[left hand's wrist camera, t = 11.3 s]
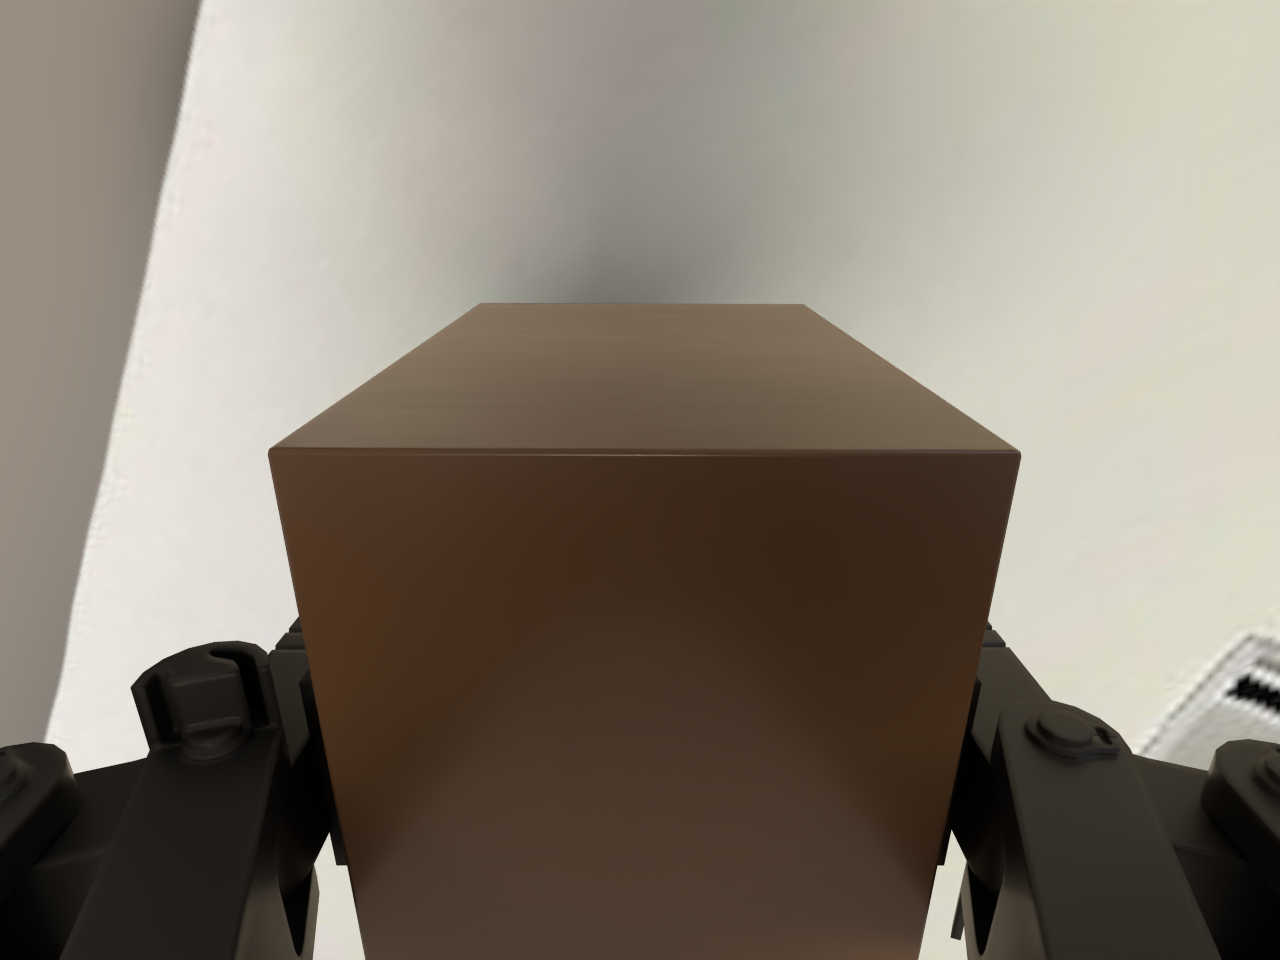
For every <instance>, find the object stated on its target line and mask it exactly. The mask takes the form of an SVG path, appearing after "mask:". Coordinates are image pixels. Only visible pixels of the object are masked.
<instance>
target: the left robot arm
mask: <svg viewBox="0 0 1280 960" xmlns="http://www.w3.org/2000/svg"><path fill="white" fill-rule="evenodd" d="M1005 644H1006V643H1005V642H1004V641H1003V639H1002V638H1001V637H1000V636H999V634H998V633H997V632H996V631H995V630H992V626H991V624H990V623H989V622H988V621H987V626H986V631H985V636H984V641H983V646H982V650H981V655H980V660H979V665H978V670H977V675H976V680H975V685H974V689H973V694H972V699H971V704H970V709H969V714H968V719H967V724H966V729H965V733H964V738H963V743H962V748H961V753H960V758H959V763H958V768H957V772H956V777H955V782H954V787H953V792H952V797H951V802H950V807H949V811H948V816H947V821H946V826H945V831H944V836H943V841H942V846H941V850H940V855H939V860H938V865H944V863H945V858H946V853H947V849H948V844H949V839H950V834H951V829H952V831H953V833H954V835H955V837H956V839H957V842H958V844H959V846H960V848H961V850H962V852H963V854H964V856H965V858H966V860H967V862H966V866H965V871H964V875H963V880H962V884H961V889H960V893H959V898H958V902H957V907H956V911H955V916H954V920H953V926H952V932H951V938H954V939H958V940H961V936H962V932H963V927H964V929H965V939H966V948H967V958H968V960H1280V744H1276V743H1270V742H1264V741H1257V740H1251V739H1245V740H1236V741H1228V742H1226V743H1225V744H1223V745H1222V746H1221V747H1219V748H1218V749H1216V751H1215V754H1214V757H1213V760H1212V762H1211V765H1210V768H1209V771H1205V770H1201V769H1196V768H1191V767H1187V766H1182V765H1177V764H1173V763H1168V762H1163V761H1158V760H1154V759H1149V758H1145V757H1142V756H1138V755H1134V754H1132V752H1131V749H1130V748H1129V747H1128V745H1127V744H1126V742H1125V741H1124V740H1123V738H1122V737H1121V736H1120V734H1119V733H1118V732H1117V731H1115V730H1114V729H1113V728H1111V727H1110V726H1109V725H1108V724H1106V723H1105V722H1104V721H1102V720H1101V719H1100V718H1098V717H1096V716H1094V715H1092V714H1090V713H1088V712H1085V711H1083V710H1081V709H1079V708H1077V707H1075V706H1071V705H1067V704H1064V703H1060V702H1057V701H1053V700H1051V699H1050V698H1049V696H1048V695H1047V694H1046V693H1045V691H1044V690H1043V689H1042V688H1041V686H1040V685H1039V684H1038V683H1037V681H1036V680H1035V679H1034V678H1033V676H1032V675H1031V674H1030V673H1029V672H1028V670H1027V669H1026V668H1025V667H1024V665H1023V664H1022V663H1021V662H1020V660H1019V659H1018V658H1017V657H1016V655H1015V654H1014V653H1013V652H1012V650H1011V649H1010V648H1009V647H1006V645H1005ZM130 688H131V691H132V694H133V697H134V701H135V704H136V707H137V710H138V714H139V717H140V720H141V723H142V726H143V730H144V733H145V736H146V739H147V743H148V746H149V749H150V751H149V753H148V755H147V758H143V759H139V760H136V761H132V762H127V763H123V764H118V765H113V766H109V767H104V768H99V769H94V770H90V771H85V772H80V773H76V774H73V771H72V769H71V766H70V763H69V760H68V758H67V755H66V753H65V752H64V751H63V750H61V749H60V748H58V747H57V746H56V745H54V744H46V743H36V742H32V743H25V744H19V745H12V746H6V747H3V748H0V960H313V950H314V941H315V931H316V921H317V912H318V902H319V887H318V881H317V875H316V871H315V866H314V863H315V861H316V859H317V857H318V855H319V852H320V850H321V848H322V846H323V844H324V842H325V840H326V838H327V836H328V834H329V832H330V836H331V841H332V846H333V851H334V856H335V861H336V865H347V861H346V856H345V851H344V846H343V841H342V835H341V830H340V825H339V820H338V815H337V810H336V804H335V799H334V794H333V789H332V784H331V779H330V773H329V768H328V763H327V758H326V753H325V747H324V742H323V737H322V732H321V727H320V722H319V716H318V711H317V706H316V701H315V696H314V691H313V685H312V680H311V675H310V670H309V665H308V659H307V654H306V649H305V644H304V639H303V634H302V628H301V623H300V618H299V617H298V618H297V619H296V621H295V622H294V623H293V624H292V626H291V627H290V628H289V633H285V634H284V636H283V637H282V638H281V639H280V641H279V642H278V643H277V644H276V648H275V650H272V651H271V652H270V653H269V654H268V655H267V652H266V651H264V650H263V649H262V648H260V647H259V646H258V645H256V644H252V643H247V642H242V641H224V642H213V643H209V644H204V645H200V646H196V647H192V648H188V649H186V650H183V651H181V652H179V653H176V654H174V655H172V656H169V657H167V658H165V659H163V660H161V661H160V662H158V663H157V664H155V665H154V666H152V667H151V668H149V669H148V670H146V671H145V672H143V673H142V674H141V676H140V677H139V678H138V679H137V680H136V681H135V683H134V684H133V685H132V686H131V687H130Z"/></svg>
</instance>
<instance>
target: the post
mask: <svg viewBox="0 0 1280 960" xmlns="http://www.w3.org/2000/svg"><path fill="white" fill-rule="evenodd" d="M268 458H269V463H270V468H271V473H272V478H273V483H274V489H275V494H276V499H277V504H278V509H279V515H280V520H281V525H282V530H283V535H284V540H285V546H286V551H287V556H288V561H289V566H290V571H291V577H292V582H293V587H294V592H295V597H296V603H297V608H298V613H299V618H300V623H301V628H302V634H303V639H304V644H305V649H306V654H307V659H308V665H309V670H310V675H311V680H312V685H313V691H314V696H315V701H316V706H317V711H318V716H319V722H320V727H321V732H322V737H323V742H324V747H325V753H326V758H327V763H328V768H329V773H330V779H331V784H332V789H333V794H334V799H335V804H336V810H337V815H338V820H339V825H340V830H341V835H342V841H343V846H344V851H345V856H346V861H347V866H348V872H349V877H350V882H351V887H352V892H353V898H354V903H355V908H356V913H357V918H358V923H359V929H360V934H361V939H362V944H363V949H364V954H365V960H918V958H919V953H920V948H921V943H922V938H923V933H924V928H925V924H926V919H927V914H928V909H929V904H930V899H931V894H932V889H933V885H934V880H935V875H936V870H937V865H938V860H939V855H940V850H941V846H942V841H943V836H944V831H945V826H946V821H947V816H948V811H949V807H950V802H951V797H952V792H953V787H954V782H955V777H956V772H957V768H958V763H959V758H960V753H961V748H962V743H963V738H964V733H965V729H966V724H967V719H968V714H969V709H970V704H971V699H972V694H973V689H974V685H975V680H976V675H977V670H978V665H979V660H980V655H981V650H982V646H983V641H984V636H985V631H986V626H987V621H988V616H989V611H990V607H991V602H992V597H993V592H994V587H995V582H996V577H997V572H998V568H999V563H1000V558H1001V553H1002V548H1003V543H1004V538H1005V533H1006V529H1007V524H1008V519H1009V514H1010V509H1011V504H1012V499H1013V494H1014V490H1015V485H1016V480H1017V475H1018V470H1019V465H1020V460H1021V453H1020V451H1019V450H1017V449H1016V448H1014V447H1013V446H1011V445H1010V444H1009V443H1007V442H1006V441H1004V440H1003V439H1001V438H1000V437H998V436H997V435H995V434H994V433H992V432H991V431H989V430H988V429H986V428H985V427H983V426H982V425H981V424H979V423H978V422H976V421H975V420H973V419H972V418H970V417H969V416H967V415H966V414H964V413H963V412H961V411H960V410H958V409H957V408H955V407H954V406H953V405H951V404H950V403H948V402H947V401H945V400H944V399H942V398H941V397H939V396H938V395H936V394H935V393H933V392H932V391H930V390H929V389H927V388H926V387H925V386H923V385H922V384H920V383H919V382H917V381H916V380H914V379H913V378H911V377H910V376H908V375H907V374H905V373H904V372H902V371H901V370H899V369H898V368H897V367H895V366H894V365H892V364H891V363H889V362H888V361H886V360H885V359H883V358H882V357H880V356H879V355H877V354H876V353H874V352H873V351H871V350H870V349H868V348H867V347H866V346H864V345H863V344H861V343H860V342H858V341H857V340H855V339H854V338H852V337H851V336H849V335H848V334H846V333H845V332H843V331H842V330H840V329H839V328H838V327H836V326H835V325H833V324H832V323H830V322H829V321H827V320H826V319H824V318H823V317H821V316H820V315H818V314H817V313H815V312H814V311H812V310H811V309H810V308H808V307H807V306H805V305H803V304H563V303H481V304H479V305H477V306H476V307H474V308H473V309H471V310H470V311H469V312H467V313H466V314H464V315H463V316H461V317H460V318H458V319H457V320H455V321H454V322H453V323H451V324H450V325H448V326H447V327H445V328H444V329H442V330H441V331H440V332H438V333H437V334H435V335H434V336H432V337H431V338H429V339H428V340H427V341H425V342H424V343H422V344H421V345H419V346H418V347H416V348H415V349H413V350H412V351H411V352H409V353H408V354H406V355H405V356H403V357H402V358H400V359H399V360H398V361H396V362H395V363H393V364H392V365H390V366H389V367H387V368H386V369H384V370H383V371H382V372H380V373H379V374H377V375H376V376H374V377H373V378H371V379H370V380H369V381H367V382H366V383H364V384H363V385H361V386H360V387H358V388H357V389H355V390H354V391H353V392H351V393H350V394H348V395H347V396H345V397H344V398H342V399H341V400H340V401H338V402H337V403H335V404H334V405H332V406H331V407H329V408H328V409H326V410H325V411H324V412H322V413H321V414H319V415H318V416H316V417H315V418H313V419H312V420H311V421H309V422H308V423H306V424H305V425H303V426H302V427H300V428H299V429H298V430H296V431H295V432H293V433H292V434H290V435H289V436H287V437H286V438H284V439H283V440H282V441H280V442H279V443H277V444H276V445H274V446H273V447H271V448H270V449H269V451H268Z"/></svg>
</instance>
